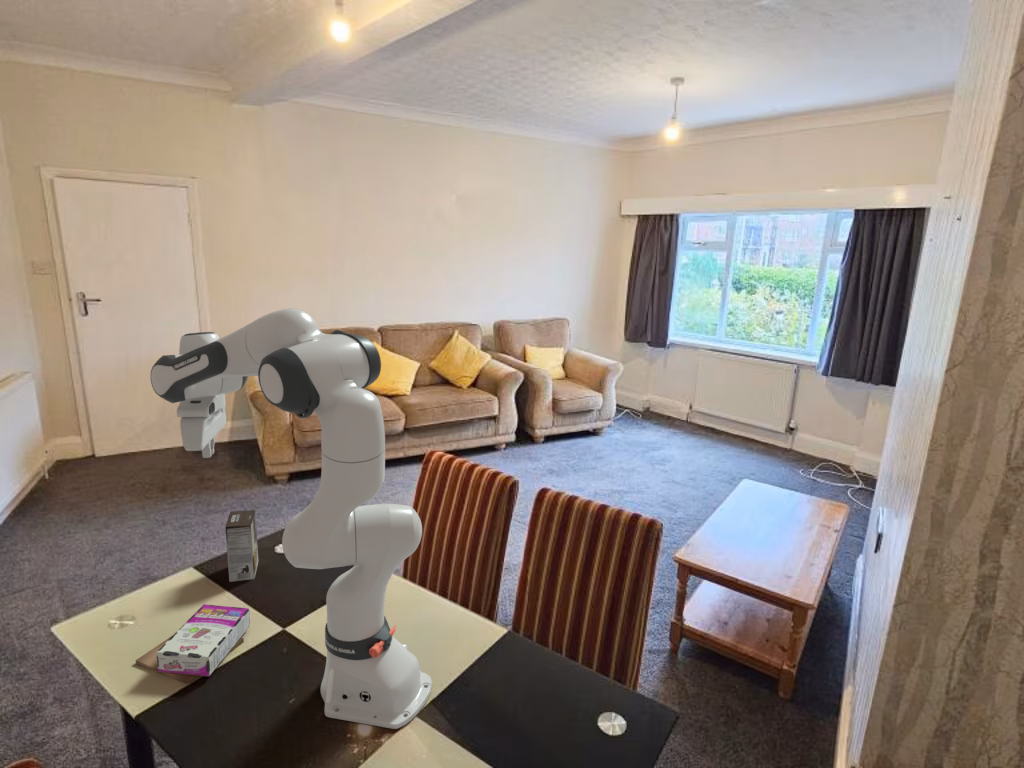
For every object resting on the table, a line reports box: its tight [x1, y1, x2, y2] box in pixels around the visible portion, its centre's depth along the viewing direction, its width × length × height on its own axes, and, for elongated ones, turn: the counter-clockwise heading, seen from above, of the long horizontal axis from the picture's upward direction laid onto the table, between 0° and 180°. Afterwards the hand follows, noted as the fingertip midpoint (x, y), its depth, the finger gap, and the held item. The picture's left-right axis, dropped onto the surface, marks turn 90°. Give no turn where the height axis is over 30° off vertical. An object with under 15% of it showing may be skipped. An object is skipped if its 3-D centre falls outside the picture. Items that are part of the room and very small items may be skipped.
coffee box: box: [224, 509, 259, 583], centre depth 151 cm, size 9×6×16 cm
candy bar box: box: [156, 603, 251, 677], centre depth 122 cm, size 11×5×16 cm
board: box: [135, 634, 244, 686], centre depth 122 cm, size 15×14×1 cm
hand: (208, 455), depth 134 cm, fingers closed
